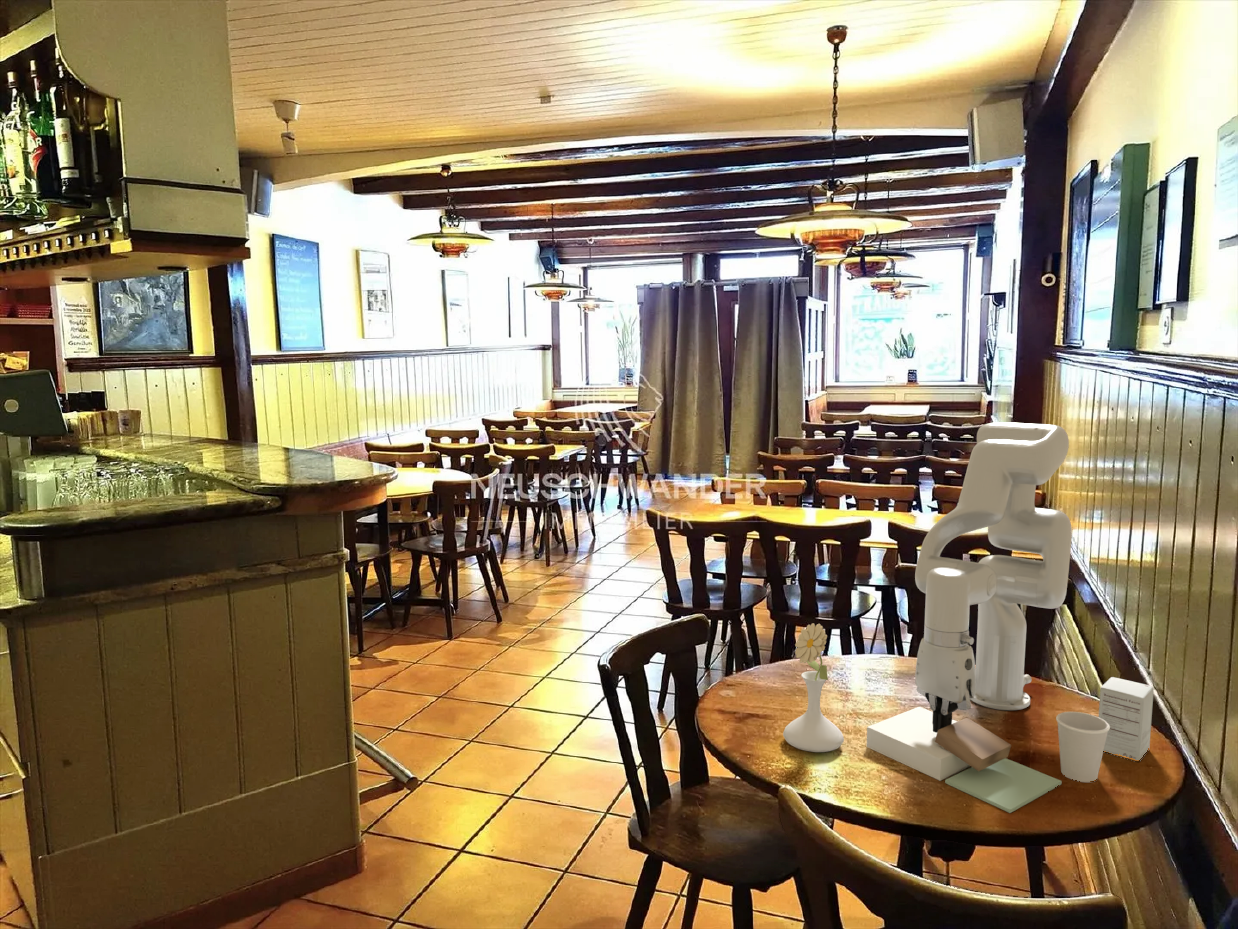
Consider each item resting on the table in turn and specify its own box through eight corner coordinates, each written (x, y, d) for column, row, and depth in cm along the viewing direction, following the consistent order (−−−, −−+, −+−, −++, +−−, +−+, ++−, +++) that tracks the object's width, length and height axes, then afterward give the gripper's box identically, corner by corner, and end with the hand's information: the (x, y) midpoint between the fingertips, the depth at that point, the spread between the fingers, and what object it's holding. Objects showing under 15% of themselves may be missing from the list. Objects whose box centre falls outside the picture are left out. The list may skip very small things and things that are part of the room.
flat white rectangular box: (918, 725, 171) (919, 706, 171) (992, 755, 158) (993, 735, 158) (866, 746, 162) (867, 727, 162) (940, 780, 149) (941, 759, 149)
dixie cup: (1087, 791, 145) (1091, 735, 144) (1042, 770, 153) (1045, 717, 151) (1116, 779, 149) (1120, 725, 148) (1071, 759, 157) (1075, 707, 155)
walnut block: (963, 728, 159) (967, 717, 158) (1007, 756, 152) (1011, 745, 151) (934, 741, 154) (937, 730, 153) (978, 771, 147) (982, 759, 146)
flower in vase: (779, 730, 169) (781, 609, 166) (837, 732, 169) (840, 610, 165) (788, 762, 156) (791, 631, 153) (851, 763, 156) (855, 632, 153)
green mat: (997, 757, 157) (997, 754, 157) (1061, 784, 148) (1061, 781, 148) (945, 783, 148) (945, 780, 148) (1010, 813, 139) (1010, 809, 139)
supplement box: (1106, 737, 165) (1111, 675, 164) (1150, 750, 160) (1155, 686, 158) (1094, 750, 160) (1099, 686, 159) (1139, 763, 155) (1144, 697, 153)
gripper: (995, 643, 151) (990, 741, 153) (923, 621, 163) (920, 712, 166) (970, 651, 147) (965, 752, 149) (898, 629, 159) (895, 722, 161)
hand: (941, 731), depth 157 cm, fingers closed
